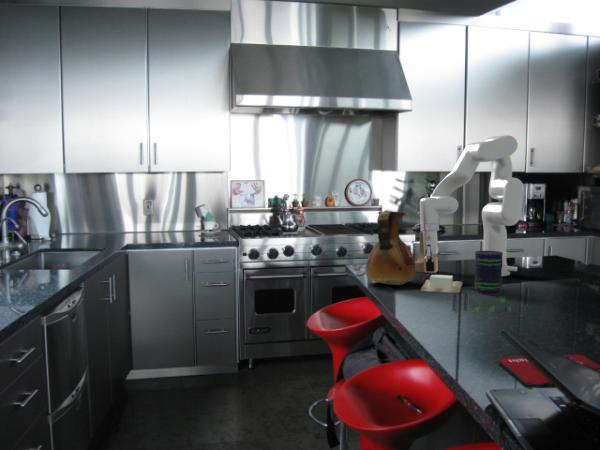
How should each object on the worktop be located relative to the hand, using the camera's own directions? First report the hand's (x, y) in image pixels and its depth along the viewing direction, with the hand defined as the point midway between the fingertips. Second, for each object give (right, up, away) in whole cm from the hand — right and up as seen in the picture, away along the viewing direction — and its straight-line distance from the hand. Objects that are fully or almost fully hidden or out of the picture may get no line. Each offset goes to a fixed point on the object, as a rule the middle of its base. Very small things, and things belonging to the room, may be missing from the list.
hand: (431, 269), depth 228 cm
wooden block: (+1, -3, +21) cm, 22 cm away
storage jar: (+15, -6, -26) cm, 31 cm away
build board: (0, -6, -16) cm, 17 cm away
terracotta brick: (0, -1, 0) cm, 1 cm away
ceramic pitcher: (-19, -5, -8) cm, 21 cm away
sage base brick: (-1, -5, -20) cm, 21 cm away
